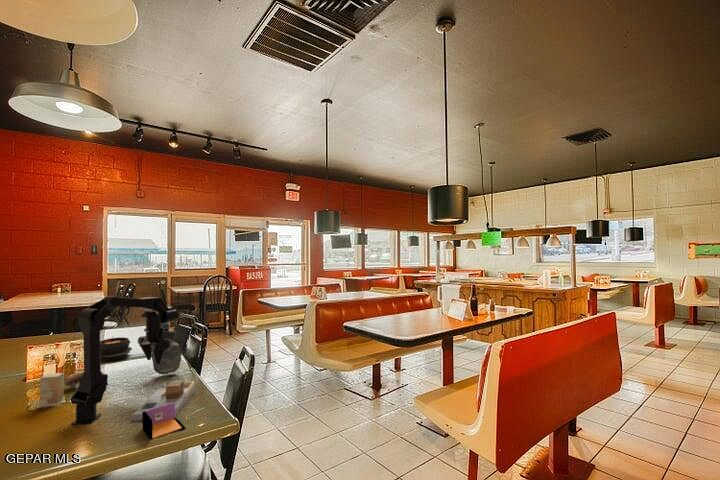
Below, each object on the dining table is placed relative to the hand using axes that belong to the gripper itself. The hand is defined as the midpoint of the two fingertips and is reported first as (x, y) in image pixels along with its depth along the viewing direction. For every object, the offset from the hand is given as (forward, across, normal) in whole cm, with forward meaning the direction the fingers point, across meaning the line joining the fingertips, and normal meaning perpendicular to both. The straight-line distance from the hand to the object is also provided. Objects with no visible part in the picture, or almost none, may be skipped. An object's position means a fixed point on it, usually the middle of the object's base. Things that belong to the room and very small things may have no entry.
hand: (153, 361), depth 150 cm
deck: (+13, -18, +2) cm, 22 cm away
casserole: (+13, +78, -8) cm, 79 cm away
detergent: (+13, +19, -14) cm, 27 cm away
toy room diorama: (+14, -37, +12) cm, 41 cm away
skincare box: (+13, +19, +30) cm, 38 cm away
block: (+10, -18, -1) cm, 21 cm away
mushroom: (+13, +34, +19) cm, 41 cm away
